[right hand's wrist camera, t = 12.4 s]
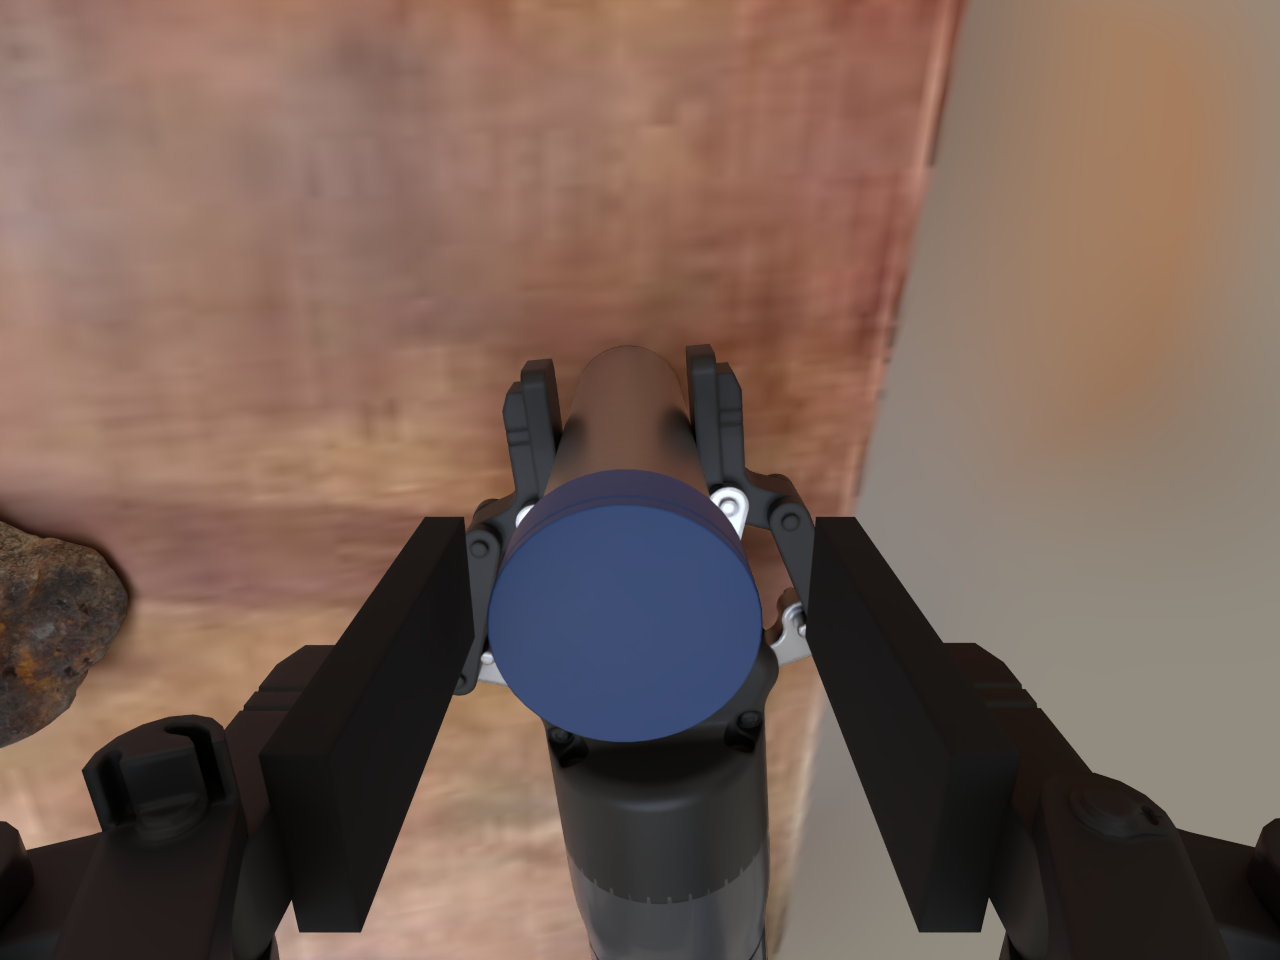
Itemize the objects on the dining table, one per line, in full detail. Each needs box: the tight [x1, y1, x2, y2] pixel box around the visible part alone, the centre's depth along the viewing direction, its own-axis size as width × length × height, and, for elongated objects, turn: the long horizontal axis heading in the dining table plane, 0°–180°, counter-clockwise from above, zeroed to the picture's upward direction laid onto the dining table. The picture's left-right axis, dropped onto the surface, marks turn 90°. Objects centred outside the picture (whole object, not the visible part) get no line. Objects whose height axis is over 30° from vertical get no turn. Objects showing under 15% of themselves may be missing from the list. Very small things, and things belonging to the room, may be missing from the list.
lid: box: [487, 469, 763, 742], centre depth 13 cm, size 5×5×2 cm
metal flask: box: [543, 346, 710, 499], centre depth 20 cm, size 4×4×16 cm
